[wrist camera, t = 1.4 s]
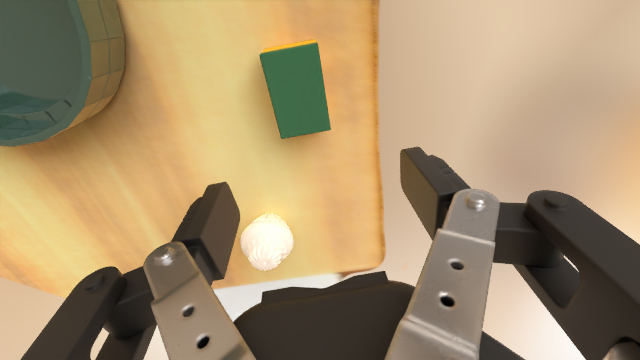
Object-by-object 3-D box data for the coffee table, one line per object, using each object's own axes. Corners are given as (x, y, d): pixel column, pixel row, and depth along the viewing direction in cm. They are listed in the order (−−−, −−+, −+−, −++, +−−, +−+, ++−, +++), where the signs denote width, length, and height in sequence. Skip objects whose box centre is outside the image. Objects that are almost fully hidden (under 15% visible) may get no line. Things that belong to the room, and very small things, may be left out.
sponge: (264, 48, 23) (259, 54, 20) (314, 38, 23) (317, 43, 20) (283, 123, 27) (281, 139, 24) (326, 115, 27) (330, 130, 24)
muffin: (272, 194, 32) (266, 236, 26) (303, 224, 35) (305, 268, 29) (234, 220, 33) (221, 264, 28) (267, 246, 36) (262, 292, 30)
